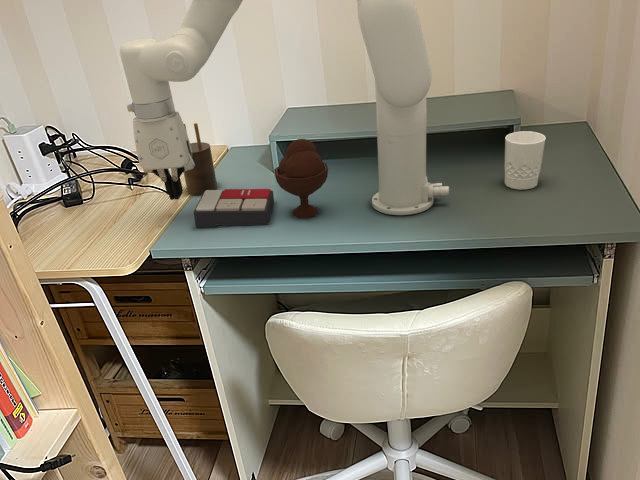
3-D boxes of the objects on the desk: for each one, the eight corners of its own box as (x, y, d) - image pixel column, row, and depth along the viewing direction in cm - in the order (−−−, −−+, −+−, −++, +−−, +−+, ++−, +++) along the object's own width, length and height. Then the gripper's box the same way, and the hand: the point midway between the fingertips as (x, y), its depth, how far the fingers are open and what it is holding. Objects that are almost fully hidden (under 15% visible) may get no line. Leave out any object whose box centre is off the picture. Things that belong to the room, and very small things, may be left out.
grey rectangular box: (266, 207, 128) (192, 208, 129) (268, 227, 130) (195, 228, 131) (273, 186, 137) (203, 187, 138) (274, 205, 139) (206, 206, 140)
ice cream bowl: (271, 210, 136) (262, 140, 128) (320, 198, 139) (314, 129, 131) (289, 228, 128) (280, 155, 119) (340, 215, 131) (335, 143, 123)
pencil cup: (220, 183, 152) (209, 117, 143) (213, 194, 146) (200, 126, 137) (192, 184, 153) (178, 118, 144) (183, 196, 147) (169, 128, 138)
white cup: (526, 194, 132) (530, 146, 126) (494, 185, 137) (497, 139, 132) (548, 182, 136) (553, 135, 130) (516, 174, 141) (520, 128, 136)
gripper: (111, 117, 122) (136, 206, 132) (186, 111, 120) (206, 202, 130) (124, 106, 129) (148, 192, 139) (196, 100, 126) (215, 188, 137)
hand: (176, 197), depth 134 cm, fingers closed
